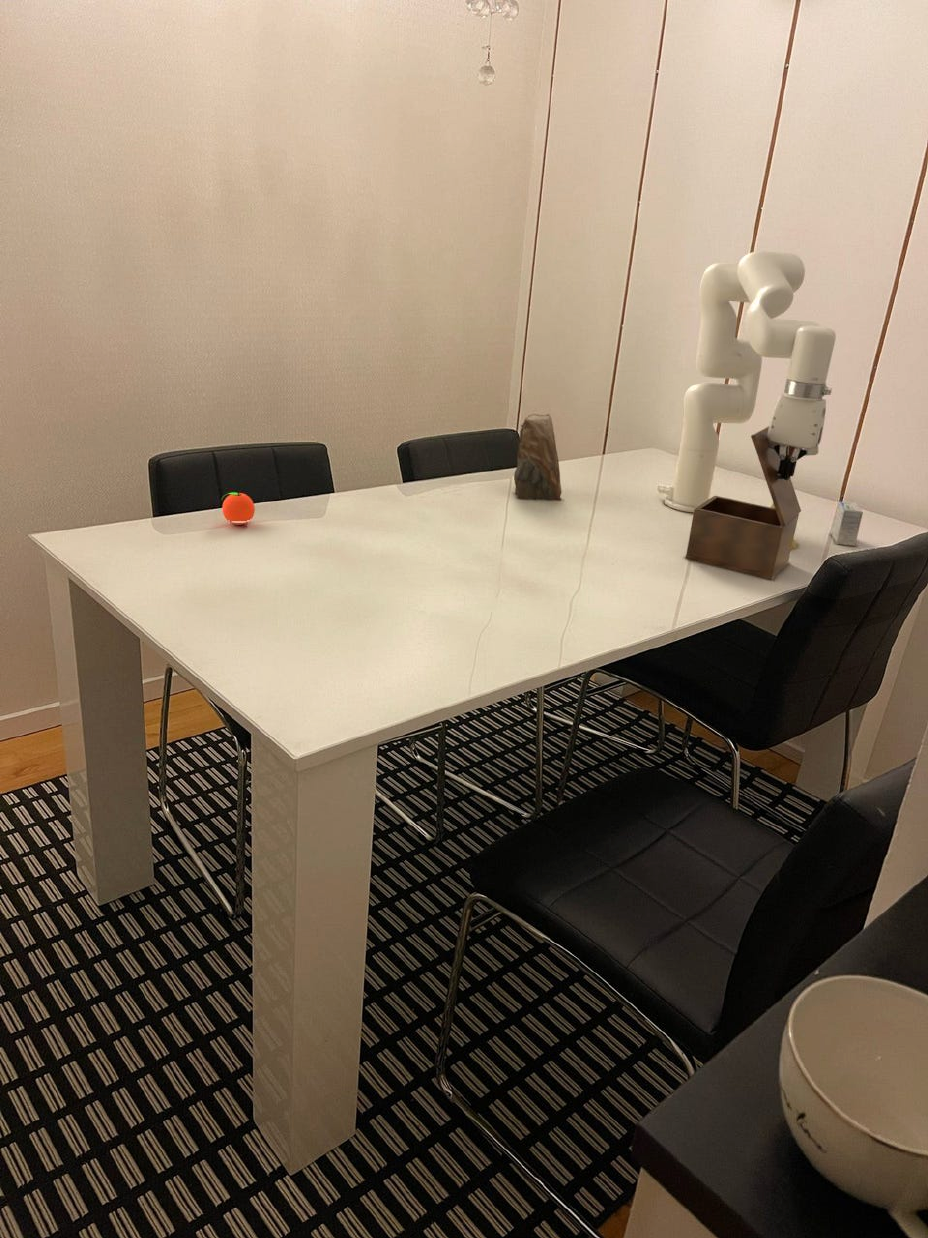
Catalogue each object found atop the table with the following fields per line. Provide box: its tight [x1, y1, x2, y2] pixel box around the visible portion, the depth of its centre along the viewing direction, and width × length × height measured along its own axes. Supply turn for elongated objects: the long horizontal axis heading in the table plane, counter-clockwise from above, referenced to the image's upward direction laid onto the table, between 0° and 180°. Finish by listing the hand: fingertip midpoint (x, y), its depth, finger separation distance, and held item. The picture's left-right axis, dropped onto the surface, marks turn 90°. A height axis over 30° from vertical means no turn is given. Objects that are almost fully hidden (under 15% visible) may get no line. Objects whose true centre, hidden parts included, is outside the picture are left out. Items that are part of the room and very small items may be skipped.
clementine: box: [220, 492, 256, 526], centre depth 204 cm, size 8×7×7 cm
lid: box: [750, 425, 802, 527], centre depth 197 cm, size 20×14×1 cm
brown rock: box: [513, 413, 562, 501], centre depth 241 cm, size 13×13×20 cm
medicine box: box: [831, 501, 864, 547], centre depth 225 cm, size 8×4×9 cm, turn 168°
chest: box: [685, 495, 800, 581], centre depth 205 cm, size 19×14×12 cm
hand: (784, 478), depth 196 cm, fingers closed
